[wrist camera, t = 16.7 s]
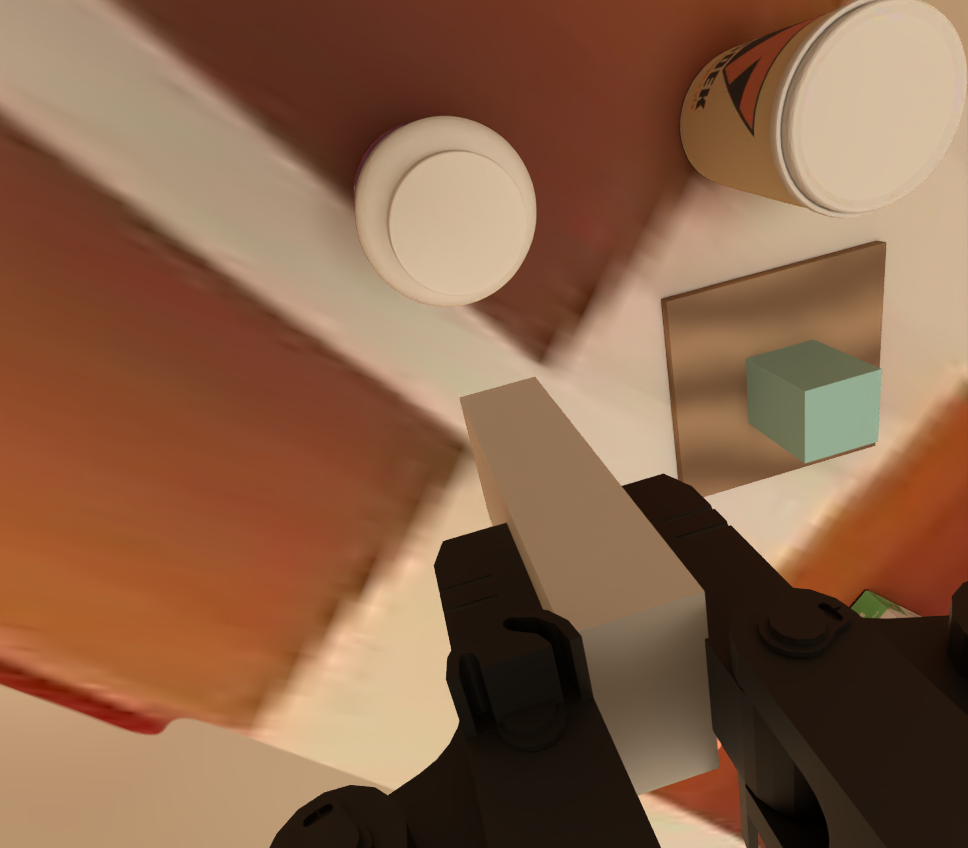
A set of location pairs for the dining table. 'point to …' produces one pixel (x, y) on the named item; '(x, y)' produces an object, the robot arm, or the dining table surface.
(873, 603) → the ink box
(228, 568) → the dining table surface
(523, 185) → the pill bottle
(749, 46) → the coffee cup
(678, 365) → the post stand
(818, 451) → the teal green block
